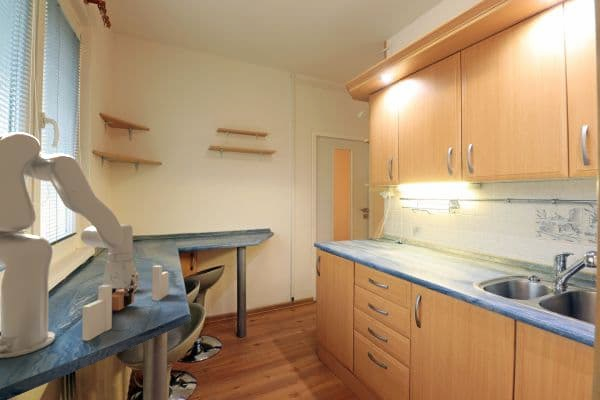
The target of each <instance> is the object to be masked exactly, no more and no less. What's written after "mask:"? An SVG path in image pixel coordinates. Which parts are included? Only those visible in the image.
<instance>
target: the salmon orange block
mask: <svg viewBox="0 0 600 400" xmlns="http://www.w3.org/2000/svg"><path fill="white" fill-rule="evenodd" d="M128 291H129V289H128ZM124 296H126V295H125V292H124V289H118V290H117V291H116V292H114V293H112V311H120V310H122V309H124V308H125V307H124ZM133 303H135V292H133V294H132V303H131V304H130V305H132V304H133Z"/></svg>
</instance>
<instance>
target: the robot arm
mask: <svg viewBox="0 0 600 400" xmlns="http://www.w3.org/2000/svg"><path fill="white" fill-rule="evenodd" d="M25 176H26V177H29V178H32V179H35V180H40V181H43V182H44V181H45V182H50V183H51V184H52V187H53V188H54V189H55V191H56V194H57V195H58V196H59V198H60V199H61V200H60V201H62V203H63V205H64V207H66V209H69V210H70V211H71V212H73V213H75V214H78V215H79V216H81V217H83V218H84V219H86V220H87V221H88V222H89V223H90V224H91V226H89V227H86V228H85V229H84V230H83V231H82V232H81V234H80V239H81V242H82V243H83V244H84V245H86V246H88V247H94V248H101V249H102V248H103V249H104V248H105V249H108V254H107V255H106V256H107V258H108V260H107V261H106V264H105V268H104V274H103V275H104V276H103V283H102V284H101V286H102V285H112V293H114V292H117V291H118V290H121V289H124V292H125V295H126V296H124V308H126V307H128V306H130V305H132V304H133V303H132V294H133V292H134V291H135V290H136V289H137V288H138V289H139V287H140V284H139V281H138V282H137V281H136V272H137V270H136V271H135V268H136V265H135V261H134V259H133V233H134V232H133V230H134V229H133V226H132V225H131V224H127V223H123V224H121V223H120V222H119V220H118V218H117V217H116V215H115V214H114V212H113V211H112V210H111V209H110V208H109V207H108V206H106V204H105V203H104V202H103V201H101V199H99V198H98V197H97V196H96V195H95V193H94V191H93V188H92V187H91V185H90V184H89V182H88V179H87V178H86V175H85V174H84V172H83V170H82V169H81V167H80V164H79V163H78V161H77V160H76V159H75V157H73V156H71V155H69V154H64V153H52V154H46V153H43V152H42V146H41V144H40V141H39V140H38V139H37V138H36V137H35V136H33V135H31V134H28V133H26V132H9V133H8V132H6V133H2V134H0V266H2V267H5V268H4V273H3V276H2V280H1V286H0V287H1V288H0V296H1V297H0V300H1V302H0V303H1V304H0V358H1V359H5V358H6V359H7V358H12V357H13V358H14V357H19V356H23V355H27V354H30V353H33V352H35V351H36V352H37V351H39V350H41V349H43V348H45V347H47V346H49V345H51V344H52V343H53V342H54V341H55V340H56V333H55V332H52V331H49V277H50V276H49V275H50V267H51V263H52V259H53V247H52V244H51V243H50V241H48V240H47V239H46V238H44V237H42V236H39V235H35V234H27V233H25V232H24V231H27V230H28V229H30V228H32V227H33V225H34V224H35V222H36V218H37V216H36V212H35V208H34V205H33V202H32V200H31V198H30V197H31V196H30V194H29V191H28V187H27V184H26V179H25ZM132 286H133V287H132ZM128 289H129V291H128ZM134 293H135V292H134ZM131 303H132V304H131Z"/></svg>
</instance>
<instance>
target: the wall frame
mask: <svg viewBox="0 0 600 400" xmlns="http://www.w3.org/2000/svg"><path fill="white" fill-rule="evenodd" d="M169 272H170V271H163V265H153V266H152V275H151V277H152V278H151V279H152V281H151V282H152V288H151V291H152V292H151V297H152V298H151V299H152V301H154V302H155V301H156V302H157V301H161V300H162V299H164V298H165V297H167V296H169V290H170V289H169V288H170V286H169V285H170V283H169V279H170V277H169ZM97 290H98V291H97V294H98V295H97V300H95V301H93V302H91V303H88V304H85V305H83V306H82V326H81V327H82V335H81V336H82V337H81V338H82V341H87V342H89V341H90V340H92V339H94V338H96V337H98V336H100V335H101V334H102V333H104V332H107V331H109V330H111V329H112V327H113V310H112V285H102V284H101V285H99V286H98V288H97Z"/></svg>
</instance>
